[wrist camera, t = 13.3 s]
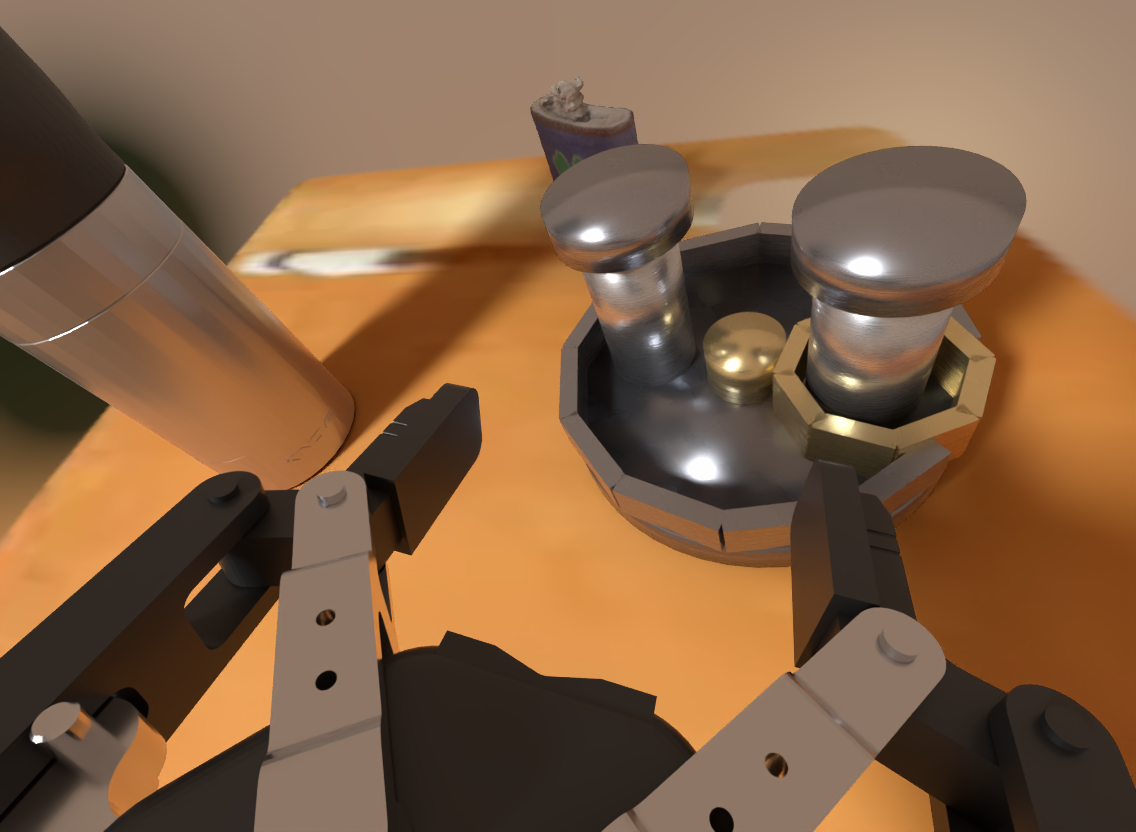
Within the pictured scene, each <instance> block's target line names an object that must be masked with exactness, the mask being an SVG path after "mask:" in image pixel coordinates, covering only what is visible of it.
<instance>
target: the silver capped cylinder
mask: <svg viewBox="0 0 1136 832" xmlns="http://www.w3.org/2000/svg"><path fill="white" fill-rule="evenodd" d="M1025 208H1026V194H1025V192H1024V189H1023V186H1022V184H1021V183H1020V181H1019V180H1018V179H1017V177H1016V176H1015V175H1014V174H1013V173H1012V172H1011V171H1010V170H1008V169H1006V168H1005V167H1004V166H1002V165H1001V164H999V163H997V162H995V161H993V160H991V159H989V158H986V157H984V156H981V155H979V154H976V153H972V152H969V151H964V150H959V149H954V148H946V147H937V146H907V147H896V148H889V149H882V150H878V151H873V152H869V153H865V154H861V155H858V156H855V157H852V158H849V159H847V160H844V161H842V162H840V163H837V164H835V165H833V166H831V167H830V168H828V169H826V170H824V171H823V172H821V173H820V174H818V175H817V176H815V177H814V178H813V179H812V180H811V181H810V182H808V183H807V185H806V186H805V187H804V188H803V189H802V190H801V192H800V193H799V195H798V196H797V198H796V200H795V203H794V206H793V210H792V233H791V268H792V272H793V274H794V276H795V278H796V280H797V281H798V283H799V284H800V285H801V286H802V288H803V289H804V290H805V291H806V292H808V293H809V294H810V295H812V296H813V297H812V309H811V321H810V333H809V346H808V358H807V370H806V382H805V387H806V389H807V390H808V392H809V393H810V394H811V396H812V397H813V398H814V400H815V401H816V402H817V404H818V405H819V406H820V408H821V409H822V410H823V412H824V413H825V414H830V415H834V416H838V417H842V418H846V419H850V420H854V421H859V422H863V423H867V424H871V425H875V426H879V427H883V428H887V429H892V430H894V429H897V428H899V427H902V426H905V425H907V424H910V423H912V421H913V419H914V417H915V415H916V412H917V409H918V406H919V403H920V401H921V398H922V395H923V392H924V389H925V387H926V384H927V381H928V378H929V376H930V373H931V370H932V367H933V364H934V362H935V359H936V356H937V353H938V350H939V348H940V345H941V342H942V339H943V336H944V334H945V331H946V328H947V325H948V323H949V320H950V317H951V314H952V311H953V309H954V307H955V306H957V305H959V304H962V303H964V302H966V301H968V300H970V299H971V298H973V297H975V296H977V295H978V294H979V293H981V292H982V291H983V290H985V289H986V288H987V287H988V286H989V285H990V284H991V283H992V282H993V281H994V279H995V278H996V277H997V275H998V274H999V272H1000V270H1001V267H1002V265H1003V263H1004V260H1005V258H1006V255H1007V253H1008V251H1009V248H1010V246H1011V243H1012V241H1013V239H1014V236H1015V234H1016V232H1017V229H1018V227H1019V224H1020V222H1021V220H1022V217H1023V215H1024V212H1025Z"/></svg>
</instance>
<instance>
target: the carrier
mask: <svg viewBox="0 0 1136 832" xmlns="http://www.w3.org/2000/svg"><path fill="white" fill-rule="evenodd" d="M540 209H541V215H542V218H543V221H544V224H545V226H546V229H547V232H548V234H549V237H550V239H551V242H552V245H553V247H554V250H555V252H556V254H557V256H558V258H559V259H560V260H561V261H562V262H563V263H564V264H565V265H566V266H568V267H570V268H572V269H574V270H577V271H581V272H582V273H583V276H584V279H585V282H586V284H587V287H588V290H589V293H590V296H591V299H592V304H591V305H590V307H589V308H588V310H587V311H586V313H585V314H584V315H583V317H582V318H581V320H580V321H579V323H578V324H577V326H576V327H575V329H574V330H573V331H572V333H571V334H570V336H569V337H568V339H567V340H566V342H565V343H564V344H563V349H561V375H560V404H559V419H560V422H561V424H562V426H563V428H564V430H565V432H566V434H567V436H568V437H569V439H570V441H571V443H572V445H573V446H574V447H575V449H576V450H577V452H578V453H579V454H580V456H581V457H582V458H583V460H584V461H585V463H586V465H587V467H588V469H589V471H590V473H591V474H592V476H593V478H594V480H595V482H596V483H597V485H598V487H599V488H600V490H601V491H602V493H603V495H604V496H605V497H606V498H607V500H608V501H609V502H610V503H611V504H612V506H613V507H614V508H615V509H616V510H617V511H618V512H619V513H620V514H621V515H622V516H623V517H624V518H625V519H626V520H628V521H629V522H630V523H631V524H632V525H633V526H635V527H636V528H638V529H639V530H640V531H642V532H643V533H645V534H646V535H648V536H649V537H651V538H652V539H654V540H656V541H658V542H660V543H662V544H664V545H666V546H668V547H670V548H672V549H674V550H676V551H679V552H682V553H685V554H688V555H691V556H694V557H696V558H699V559H703V560H708V561H712V562H717V563H721V564H726V565H734V566H745V567H756V568H761V567H788V566H791V545H790V530H791V522H792V517H793V513H794V510H795V507H796V504H797V502H798V499H799V497H800V494H801V492H802V489H803V487H804V484H805V482H806V479H807V477H808V474H809V472H810V469H811V467H812V465H813V463H814V461H815V460H816V459H819V460H824V461H829V462H833V463H838V464H843V465H848V466H853V467H854V468H855V470H856V475H857V481H858V486H859V491H860V492H862V493H867V494H872V495H876V496H877V497H878V499H879V500H880V501H881V502H882V504H883V505H884V506H885V508H886V509H887V510H888V512H889V513H890V514H891V517H892V521H893V525H894V529H895V528H896V527H897V526H898V525H899V524H901V523H902V522H903V521H904V520H905V519H907V518H908V517H909V516H910V515H911V514H913V513H914V512H915V511H916V510H917V509H918V508H919V506H920V505H921V504H922V503H923V502H924V501H925V500H926V498H927V497H928V496H929V495H930V494H931V493H932V491H933V489H934V488H935V486H936V484H937V483H938V481H939V479H940V478H941V476H942V474H943V473H944V471H945V469H946V467H947V465H948V463H949V461H950V460H952V459H954V458H957V457H960V456H961V455H962V454H964V452H965V450H966V448H967V446H968V444H969V442H970V440H971V438H972V436H973V434H974V432H975V430H976V428H977V426H978V424H979V422H980V420H981V418H982V416H983V412H984V407H985V403H986V399H987V395H988V391H989V387H990V383H991V378H992V374H993V370H994V366H995V362H996V358H994V356H995V355H994V354H993V353H992V352H991V351H990V350H989V349H988V348H986V347H985V346H984V345H983V344H982V343H981V342H980V341H981V338H982V336H981V334H980V333H979V331H978V330H977V328H976V326H975V325H974V323H973V322H972V320H971V318H970V317H969V315H968V314H967V312H966V310H965V309H964V307H963V306H962V304H959V305H957V306H955V307H954V309H953V311H952V314H951V317H950V320H949V323H948V325H947V328H946V331H945V334H944V336H943V339H942V342H941V345H940V348H939V350H938V353H937V356H936V359H935V362H934V364H933V367H932V370H931V373H930V376H929V378H928V381H927V384H926V387H925V389H924V392H923V395H922V398H921V401H920V403H919V406H918V409H917V412H916V415H915V417H914V419H913V421H912V423H910V424H907V425H905V426H902V427H899V428H897V429H894V430H892V429H887V428H883V427H879V426H875V425H871V424H867V423H863V422H859V421H854V420H850V419H846V418H842V417H838V416H834V415H830V414H825V413H824V412H823V410H822V409H821V408H820V406H819V405H818V404H817V402H816V401H815V400H814V398H813V397H812V396H811V394H810V393H809V392H808V390H807V389H806V387H805V382H806V370H807V358H808V346H809V333H810V321H811V309H812V297H813V296H812V295H810V294H809V293H808V292H806V291H805V290H804V289H803V288H802V286H801V285H800V284H799V283H798V281H797V280H796V278H795V276H794V274H793V272H792V268H791V233H792V225H791V224H776V223H763V222H762V223H761V225H760V227H759V224H758V223H755V224H751V225H746V226H742V227H738V228H734V229H730V230H725V231H721V232H717V233H713V234H709V235H705V236H700V237H696V238H692V239H688V240H684V241H680V240H681V239H682V238H683V237H684V236H685V234H686V233H687V231H688V230H689V228H690V226H691V223H692V220H693V214H694V212H693V203H692V195H691V188H690V180H689V172H688V166H687V163H686V161H685V159H684V158H683V157H682V156H681V155H680V154H679V153H678V152H676V151H674V150H672V149H670V148H667V147H664V146H659V145H651V144H637V145H628V146H622V147H617V148H613V149H609V150H606V151H603V152H600V153H598V154H595V155H593V156H590V157H588V158H586V159H584V160H582V161H580V162H579V163H577V164H575V165H574V166H572V167H570V168H569V169H568V170H566V171H565V172H564V173H562V174H561V175H560V176H559V177H558V178H557V179H556V180H555V181H554V182H553V183H552V184H551V185H550V186H549V188H548V189H547V191H546V192H545V194H544V196H543V199H542V201H541V206H540ZM679 241H680V242H679Z"/></svg>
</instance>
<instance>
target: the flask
mask: <svg viewBox="0 0 1136 832" xmlns="http://www.w3.org/2000/svg"><path fill="white" fill-rule="evenodd" d="M574 79H575V80H576V82H574V83H569V82H567V81H561V82H559V88H558V90H557V88H556V85H553V86H552V87H551V94H550V95H546V96H544V97H541V98H540V99H538V100H537V101H535V102H533V104H532V106H531V115H532V117H533V120H534V123H535V125H536V129H537V131H538V134H539V137H540V140H541V144H542V147H543V149H544V152H545V155H546V159H547V161H548V164H549V167H550V171H551V174H552V177H553V181H555V180H556V179H557V178H558V177H559V176H560V175H561V174H562V173H564V172H565V171H566V170H568V169H569V168H570V167H572V166H574V165H575V164H577V163H579V162H580V161H582V160H584V159H586V158H588V157H590V156H593V155H595V154H598V153H600V152H603V151H606V150H609V149H613V148H617V147H622V146H628V145H637V144H638V141H637V134H636V128H635V123H634V115H633V112H632V111H631V110H628V109H626V108H613V107H608V108H607V107H604V106H594V105H589V104H585V103H583V98H584V96H583V94H582V93H581V92H579V91H580V89H581V88H582V87H583V81H582V80H581V79H580V77H579V76H577V77H575V78H574ZM558 93H559V94H558Z"/></svg>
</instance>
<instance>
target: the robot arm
mask: <svg viewBox="0 0 1136 832" xmlns="http://www.w3.org/2000/svg"><path fill="white" fill-rule="evenodd" d="M0 336H2V337H3V338H5V339H7V340H8V341H10V342H13V343H14V344H15V345H17V346H18V347H20V348H22V349H23V350H25V351H26V352H28V353H30V354H31V355H33V356H34V357H36V358H37V359H39V360H41V361H42V362H44V363H45V364H47V365H48V366H50V367H52V368H53V369H55V370H56V371H58V372H60V373H61V374H63V375H64V376H66V377H67V378H69V379H71V380H72V381H74V382H75V383H77V384H79V385H80V386H82V387H83V388H85V389H87V390H88V391H90V392H91V393H93V394H94V395H96V396H98V397H99V398H101V399H102V400H104V401H105V402H107V403H109V404H110V405H112V406H113V407H115V408H117V409H118V410H120V411H121V412H123V413H124V414H126V415H128V416H129V417H131V418H132V419H134V420H135V421H137V422H139V423H140V424H142V425H143V426H145V427H147V428H148V429H150V430H151V431H153V432H154V433H156V434H158V435H159V436H161V437H162V438H164V439H166V440H167V441H169V442H170V443H172V444H173V445H175V446H177V447H178V448H180V449H181V450H183V451H185V452H186V453H188V454H189V455H191V456H192V457H194V458H195V459H197V460H198V461H200V462H202V463H203V464H205V465H206V466H208V467H210V468H211V469H213V470H214V471H216V472H218V473H219V475H216V476H214V477H211V478H209V479H208V480H206V481H204V482H202V483H201V484H200V485H198V486H197V487H196V488H195V489H193V490H192V491H191V492H190V493H189V494H188V495H187V496H185V497H184V498H183V499H182V500H181V501H180V502H179V503H177V504H176V505H175V506H174V507H173V508H172V509H171V510H169V511H168V512H167V513H166V514H165V515H164V516H162V517H161V518H160V519H159V520H158V521H157V522H156V523H154V524H153V525H152V526H151V527H150V528H149V529H148V530H146V531H145V532H144V533H143V534H142V535H141V536H140V537H138V538H137V539H136V540H135V541H134V542H133V543H132V544H130V545H129V546H128V547H127V548H126V549H125V550H124V551H122V552H121V553H120V554H119V555H118V556H117V557H116V558H114V559H113V560H112V561H111V562H110V563H109V564H108V565H106V566H105V567H104V568H103V569H102V570H101V571H100V572H98V573H97V574H96V575H95V576H94V577H93V578H92V579H90V580H89V581H88V582H87V583H86V584H85V585H84V586H82V587H81V588H80V589H79V590H78V591H77V592H76V593H74V594H73V595H72V596H71V597H70V598H69V599H68V600H66V601H65V602H64V603H63V604H62V605H61V606H60V607H58V608H57V609H56V610H55V611H54V612H53V613H52V614H50V615H49V616H48V617H47V618H46V619H45V620H44V621H42V622H41V623H40V624H39V625H38V626H37V627H36V628H34V629H33V630H32V631H31V632H30V633H29V634H28V635H26V636H25V637H24V638H23V639H22V640H21V641H20V642H18V643H17V644H16V645H15V646H14V647H13V648H12V649H10V650H9V651H8V652H7V653H6V654H5V655H4V656H2V657H1V658H0V832H813V831H814V830H815V829H816V828H817V827H818V825H819V824H820V823H821V822H822V821H823V819H824V818H825V817H826V816H827V815H828V814H829V812H830V811H831V810H832V809H833V808H834V806H835V805H836V804H837V803H838V802H839V801H840V799H841V798H842V797H843V796H844V795H845V793H846V792H847V791H848V790H849V789H850V787H851V786H852V785H853V784H854V783H855V782H856V780H857V779H858V778H859V777H860V776H861V774H862V773H863V772H864V771H865V770H866V768H867V767H868V766H869V765H870V764H871V763H872V761H873V760H874V759H875V760H877V761H878V762H880V763H881V764H883V765H884V766H886V767H888V768H889V769H891V770H892V771H894V772H895V773H897V774H899V775H900V776H902V777H903V778H905V779H906V780H908V781H910V782H911V783H913V784H914V785H916V786H917V787H919V788H921V789H922V790H924V791H925V792H927V793H928V794H929V797H930V804H931V811H932V818H933V825H934V832H1136V789H1135V787H1134V784H1133V782H1132V779H1131V777H1130V775H1129V772H1128V770H1127V767H1126V765H1125V762H1124V760H1123V758H1122V755H1121V753H1120V750H1119V749H1118V747H1117V745H1116V743H1115V741H1114V739H1113V738H1112V736H1111V735H1110V733H1109V732H1108V731H1107V730H1106V728H1105V727H1104V726H1103V725H1102V724H1101V723H1100V722H1099V721H1098V720H1097V719H1096V718H1095V717H1094V716H1093V715H1092V714H1091V713H1090V712H1089V711H1088V710H1086V709H1085V708H1084V707H1082V706H1081V705H1080V704H1078V703H1077V702H1076V701H1074V700H1072V699H1071V698H1069V697H1067V696H1066V695H1064V694H1061V693H1059V692H1057V691H1055V690H1052V689H1050V688H1047V687H1043V686H1039V685H1031V684H1028V685H1021V686H1017V687H1015V688H1014V689H1012V690H1011V691H1010V692H1009V693H1008V694H1007V693H1006V692H1004V691H1002V690H1000V689H998V688H996V687H994V686H992V685H990V684H988V683H987V682H985V681H983V680H981V679H979V678H977V677H975V676H973V675H971V674H969V673H968V672H966V671H964V670H962V669H960V668H959V667H957V666H955V665H954V664H953V663H951V662H950V661H948V660H947V659H946V658H945V655H944V653H943V650H942V648H941V646H940V645H939V643H938V641H937V640H936V639H935V638H934V636H933V635H932V634H931V633H930V632H929V631H928V630H927V629H926V628H925V627H924V626H922V625H921V624H920V623H919V622H917V620H916V616H915V612H914V608H913V604H912V600H911V596H910V591H909V587H908V583H907V579H906V575H905V571H904V566H903V562H902V558H901V556H899V554H900V550H899V546H898V541H897V540H896V539H895V537H896V533H895V529H894V525H893V521H892V517H891V514H890V513H889V512H888V510H887V509H886V508H885V506H884V505H883V504H882V502H881V501H880V500H879V499H878V497H877V496H876V495H872V494H867V493H862V492H860V491H859V486H858V481H857V475H856V470H855V468H854V467H853V466H848V465H843V464H838V463H833V462H829V461H824V460H819V459H816V460H815V461H814V463H813V465H812V467H811V469H810V472H809V474H808V477H807V479H806V482H805V484H804V487H803V489H802V492H801V494H800V497H799V499H798V502H797V504H796V507H795V510H794V513H793V517H792V522H791V530H790V545H791V574H792V603H793V632H794V662H795V667H797V668H800V669H799V670H798V671H796V672H795V673H794V674H792V673H791V672H787V673H785V674H783V675H782V676H781V677H779V678H778V679H777V680H776V681H775V682H774V683H773V684H771V685H770V686H769V687H768V688H767V689H766V690H765V691H764V692H763V693H761V694H760V695H759V696H758V697H757V698H756V699H755V700H754V701H753V702H752V703H750V704H749V705H748V706H747V707H746V708H745V709H744V710H743V711H742V712H741V713H739V714H738V715H737V716H736V717H735V718H734V719H733V720H732V721H731V722H729V723H728V724H727V725H726V726H725V727H724V728H723V729H722V730H721V731H720V732H718V733H717V734H716V735H715V736H714V737H713V738H712V739H711V740H710V741H709V742H707V743H706V744H705V745H704V746H703V747H702V748H701V749H700V750H699V751H697V752H696V751H695V750H694V748H693V747H692V746H691V745H690V743H689V742H688V741H687V740H686V739H685V738H684V737H683V736H682V735H681V734H680V733H679V732H678V731H677V730H676V729H675V728H674V727H672V726H671V725H670V724H669V723H667V722H666V721H665V720H664V719H662V718H660V717H659V716H657V715H656V714H654V710H655V704H656V698H657V696H654V695H651V694H647V693H644V692H641V691H638V690H635V689H632V688H628V687H625V686H622V685H619V684H616V683H612V682H609V681H606V680H603V679H589V678H570V677H550V676H543V675H540V674H539V673H537V672H535V671H534V670H532V669H531V668H529V667H527V666H526V665H524V664H523V663H521V662H520V661H518V660H517V659H515V658H514V657H512V656H511V655H509V654H507V653H506V652H504V651H503V650H501V649H500V648H498V647H497V646H495V645H492V644H489V643H485V642H482V641H479V640H476V639H473V638H470V637H466V636H463V635H460V634H457V633H454V632H450V631H447V632H446V634H445V636H444V638H443V639H442V641H441V643H440V645H439V646H425V647H417V648H412V649H408V650H404V651H401V652H400V651H399V646H398V641H397V636H396V629H395V620H394V612H393V604H392V596H391V587H390V579H389V571H388V565H387V560H388V558H389V557H390V556H391V554H392V553H393V551H398V552H401V553H405V554H408V555H412V554H413V552H414V551H415V549H416V548H417V546H418V545H419V543H420V542H421V540H422V539H423V538H424V536H425V535H426V533H427V532H428V530H429V529H430V527H431V526H432V524H433V523H434V521H435V520H436V518H437V517H438V515H439V514H440V512H441V511H442V509H443V508H444V507H445V505H446V504H447V502H448V501H449V499H450V498H451V496H452V495H453V493H454V492H455V490H456V489H457V487H458V486H459V484H460V483H461V481H462V480H463V479H464V477H465V476H466V474H467V473H468V471H469V470H470V468H471V467H472V465H473V464H474V462H475V461H476V459H477V457H478V455H479V452H480V448H481V443H482V432H481V420H480V409H479V397H478V392H477V390H476V389H474V388H469V387H465V386H460V385H455V384H450V383H446V384H444V385H443V386H442V387H441V388H440V389H439V390H438V391H437V392H436V393H435V394H434V396H433V397H432V398H431V399H425V398H423V399H421V400H419V401H417V402H415V403H414V404H412V405H410V406H408V407H406V408H405V409H404V410H403V411H402V412H401V413H400V414H399V415H398V416H397V417H396V418H395V419H394V420H393V423H390V425H389V426H388V427H387V428H386V429H385V430H384V431H383V434H380V435H379V436H378V437H377V438H376V439H375V440H374V441H373V442H372V443H371V444H370V445H369V447H368V448H367V449H366V450H365V451H364V452H363V453H362V454H361V455H360V456H359V457H358V458H357V459H356V460H355V461H354V462H353V463H352V464H351V465H350V466H349V468H348V469H347V470H346V471H333V472H328V473H324V474H322V475H319V476H317V477H315V478H313V479H311V480H310V481H308V482H307V483H306V484H305V485H304V486H303V487H302V488H301V489H300V490H287V489H290V488H292V487H294V486H296V485H298V484H300V483H302V482H303V481H305V480H306V479H308V478H310V477H311V476H312V475H314V474H315V473H316V472H317V471H318V470H320V469H321V468H322V467H323V466H324V465H325V464H326V463H327V462H328V461H329V460H330V459H331V458H332V457H333V456H334V455H335V453H336V452H337V451H338V449H339V448H340V447H341V445H342V444H343V442H344V440H345V439H346V437H347V435H348V433H349V431H350V428H351V425H352V422H353V419H354V410H355V406H354V401H353V398H352V396H351V394H350V392H349V391H348V390H347V389H346V388H345V387H344V386H343V385H342V384H341V383H340V382H339V381H338V380H337V379H336V378H335V377H334V376H333V375H332V374H331V373H330V372H329V371H328V370H327V369H326V367H325V366H324V365H323V364H322V363H321V362H320V361H319V360H318V359H317V358H316V357H315V356H314V355H313V354H312V353H311V352H310V351H309V350H308V349H307V348H306V347H305V346H304V345H303V344H302V343H301V342H300V341H299V340H298V339H297V338H296V337H295V336H294V335H293V334H292V333H291V332H290V331H289V329H288V328H287V327H286V326H285V325H284V324H283V323H282V322H281V321H280V320H279V319H278V318H277V317H276V316H275V315H274V314H273V313H272V312H271V311H270V310H269V309H268V308H267V307H266V306H265V305H264V304H263V303H262V302H261V301H260V300H259V299H258V298H257V297H256V296H255V295H254V294H253V293H252V292H251V291H250V290H249V289H248V288H247V287H246V286H245V285H244V284H243V283H242V282H241V281H240V280H239V279H238V278H237V277H236V276H235V275H234V274H233V272H232V271H231V270H230V269H229V268H228V267H227V266H226V265H225V264H224V263H223V262H222V261H221V260H220V259H219V258H218V257H217V256H216V255H215V254H214V253H213V252H212V251H211V250H210V249H209V248H208V247H207V246H206V245H205V244H204V243H203V242H202V241H201V240H200V239H199V238H198V237H197V236H196V235H195V234H194V233H193V232H192V231H191V230H190V229H189V228H188V227H187V226H186V225H185V224H184V223H183V222H182V221H181V220H180V219H179V218H178V217H177V216H176V215H175V214H174V213H173V212H172V211H171V210H170V209H169V208H168V207H167V206H166V205H165V204H164V203H163V202H162V201H161V200H160V199H159V198H158V197H157V196H156V195H155V194H154V193H153V192H152V191H151V189H150V188H149V187H148V186H146V185H145V183H143V181H142V180H141V179H140V178H139V177H138V176H137V175H136V174H135V173H134V172H133V171H132V170H131V169H130V168H129V167H128V166H127V165H126V164H124V162H123V161H122V160H121V159H120V158H119V157H118V156H117V155H116V154H115V153H114V152H113V151H112V150H111V149H110V148H109V147H108V146H107V145H106V144H105V143H104V142H103V141H102V140H101V139H100V138H99V136H98V135H97V134H96V133H95V132H94V131H93V129H91V127H90V126H89V125H88V124H87V122H86V121H85V120H84V119H83V117H82V116H81V115H80V114H79V113H78V112H77V110H76V109H75V108H74V107H73V105H72V104H71V103H70V102H69V101H68V99H67V98H66V97H65V96H64V94H63V93H62V92H61V91H60V90H59V89H58V88H57V86H56V85H55V84H54V83H53V82H52V81H51V80H50V79H49V77H48V76H46V74H45V73H44V72H43V71H42V70H41V69H40V68H39V66H38V65H37V64H36V63H35V62H34V61H33V60H32V59H31V58H30V57H29V56H28V55H27V54H26V53H25V52H24V51H23V50H22V49H21V48H20V47H19V46H18V44H16V42H15V41H14V40H13V39H12V38H11V37H10V36H9V35H8V34H7V33H6V32H5V31H4V30H3V29H2V28H1V27H0ZM218 562H219V564H220V566H221V568H222V569H221V570H220V571H219V572H218V573H217V574H216V575H215V576H214V577H213V578H212V579H211V580H210V581H209V583H208V584H207V585H206V586H205V587H204V588H203V589H202V590H201V591H200V592H199V593H198V594H197V595H196V597H195V598H194V599H193V600H192V601H191V602H190V603H189V604H188V605H187V606H186V607H185V608H184V605H185V602H186V599H187V597H188V596H189V594H190V593H191V591H192V590H193V589H194V588H195V587H196V586H197V585H198V584H199V582H200V581H201V580H202V579H203V578H204V577H205V576H206V575H207V574H208V573H209V572H210V571H211V570H212V569H213V568H214V567H215V566H216V564H217V563H218ZM278 599H279V607H278V621H277V635H276V650H275V664H274V678H273V692H272V706H271V721H270V725H268V726H266V727H265V728H263V729H261V730H259V731H258V732H256V733H254V734H253V735H251V736H249V737H247V738H246V739H244V740H242V741H241V742H239V743H237V744H235V745H234V746H232V747H230V748H229V749H227V750H225V751H223V752H222V753H220V754H218V755H217V756H215V757H213V758H211V759H210V760H208V761H206V762H205V763H203V764H201V765H199V766H198V767H196V768H194V769H193V770H191V771H189V772H187V773H186V774H184V775H182V776H181V777H179V778H177V779H175V780H174V781H172V782H170V783H169V784H167V785H165V786H163V787H162V788H160V789H158V786H159V780H158V776H159V774H160V772H161V770H162V768H163V765H164V762H165V759H166V753H167V748H166V742H167V741H168V739H169V738H170V737H171V736H172V734H173V733H174V732H175V731H176V729H177V728H178V727H179V725H180V724H181V723H182V722H183V720H184V719H185V718H186V716H187V715H188V714H189V713H190V711H191V710H192V709H193V707H194V706H195V705H196V704H197V702H198V701H199V700H200V698H201V697H202V696H203V695H204V693H205V692H206V691H207V690H208V688H209V687H210V686H211V684H212V683H213V682H214V681H215V679H216V678H217V677H218V675H219V674H220V673H221V672H222V670H223V669H224V668H225V666H226V665H227V664H228V663H229V661H230V660H231V659H232V657H233V656H234V655H235V654H236V652H237V651H238V650H239V649H240V647H241V646H242V645H243V643H244V642H245V641H246V640H247V638H248V637H249V636H250V634H251V633H252V632H253V631H254V629H255V628H256V627H257V625H258V624H259V623H260V622H261V620H262V619H263V618H264V616H265V615H266V614H267V613H268V611H269V610H270V609H271V608H272V606H273V605H274V604H275V602H276V601H277V600H278ZM157 789H158V790H157Z"/></svg>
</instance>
